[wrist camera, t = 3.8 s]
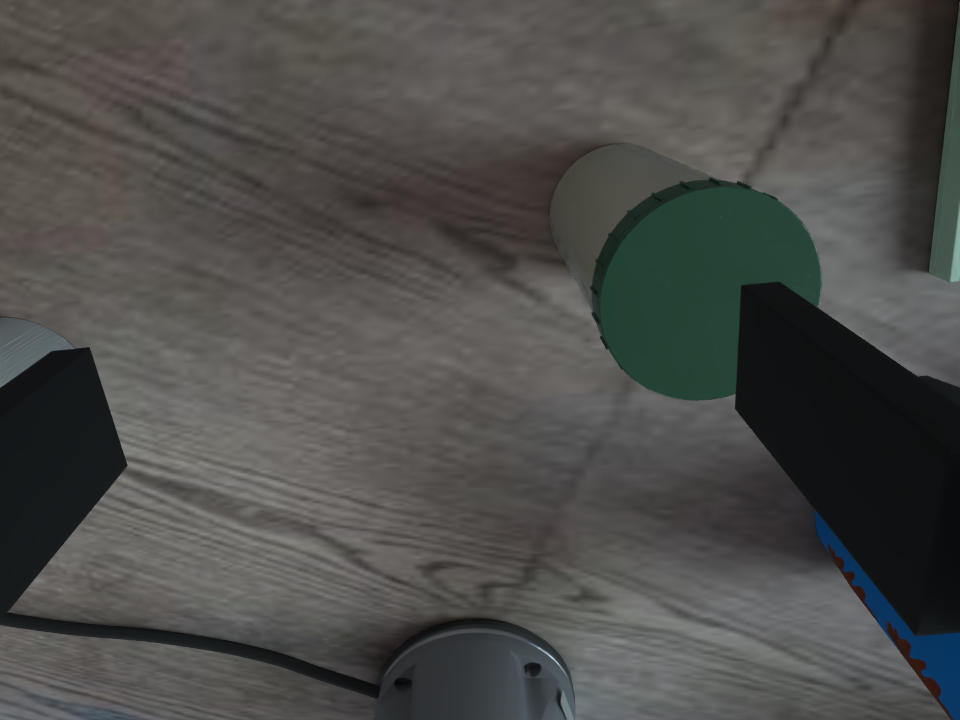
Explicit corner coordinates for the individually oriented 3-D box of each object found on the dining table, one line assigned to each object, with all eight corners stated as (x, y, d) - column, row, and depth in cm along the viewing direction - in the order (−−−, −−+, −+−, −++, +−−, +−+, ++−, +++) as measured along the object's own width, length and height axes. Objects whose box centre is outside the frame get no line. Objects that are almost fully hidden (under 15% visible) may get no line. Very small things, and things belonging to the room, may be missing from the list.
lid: (596, 395, 30) (604, 414, 29) (582, 193, 27) (591, 201, 25) (797, 370, 30) (817, 388, 28) (807, 164, 27) (829, 170, 25)
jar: (555, 287, 44) (607, 404, 29) (543, 153, 41) (594, 203, 26) (685, 271, 44) (807, 379, 29) (683, 134, 41) (817, 175, 26)
